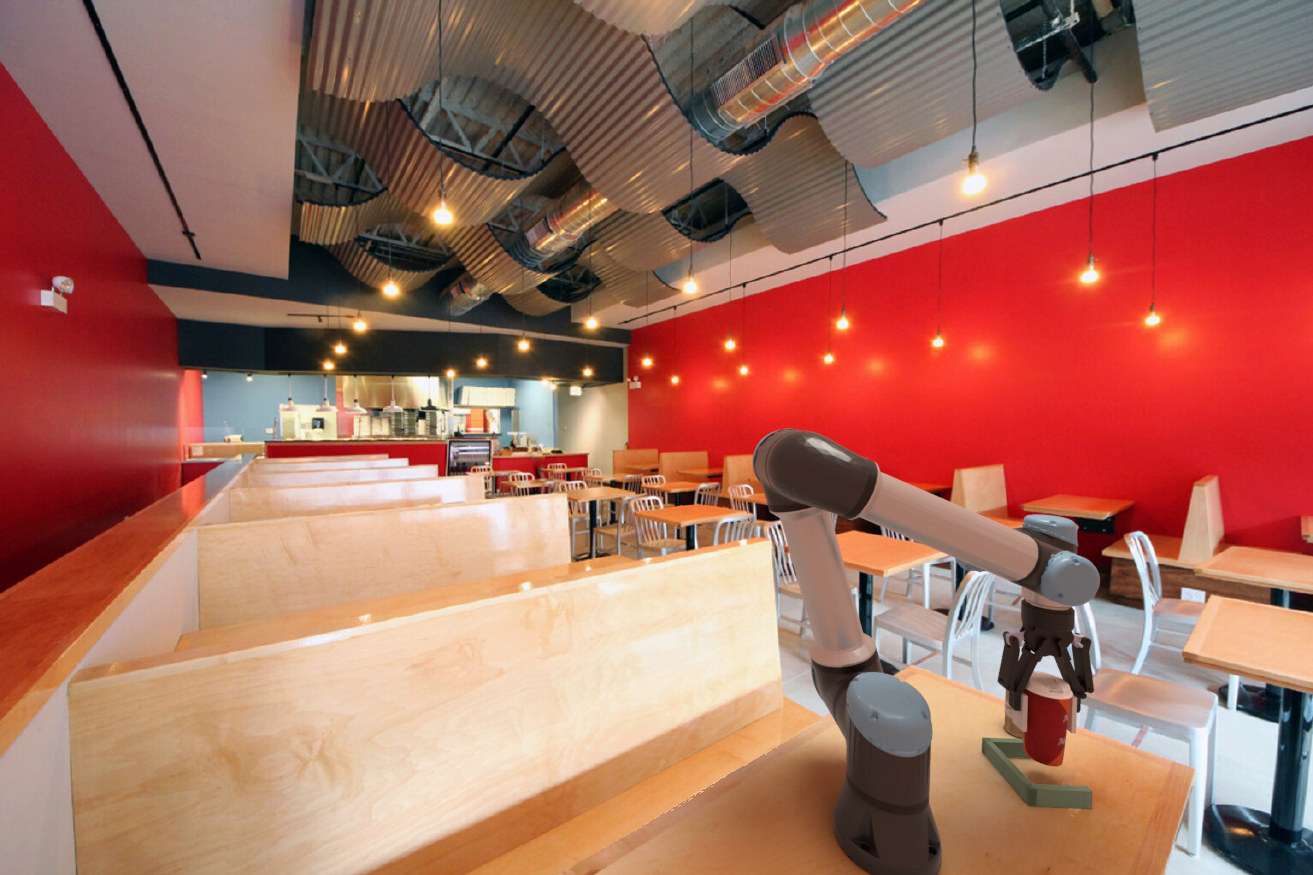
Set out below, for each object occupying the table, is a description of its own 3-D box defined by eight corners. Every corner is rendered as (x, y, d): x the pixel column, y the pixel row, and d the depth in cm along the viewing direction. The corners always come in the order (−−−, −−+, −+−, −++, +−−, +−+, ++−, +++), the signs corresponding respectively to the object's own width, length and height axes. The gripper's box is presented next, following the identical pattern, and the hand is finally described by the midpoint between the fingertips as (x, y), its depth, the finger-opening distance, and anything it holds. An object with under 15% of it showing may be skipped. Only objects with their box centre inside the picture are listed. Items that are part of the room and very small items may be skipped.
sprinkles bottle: (1004, 734, 102) (1007, 670, 102) (1002, 722, 106) (1004, 661, 106) (1032, 741, 100) (1034, 676, 99) (1029, 729, 104) (1031, 666, 103)
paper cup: (1081, 773, 85) (1083, 693, 84) (1030, 767, 86) (1032, 688, 86) (1054, 744, 93) (1056, 670, 92) (1008, 738, 94) (1010, 666, 94)
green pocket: (1029, 805, 83) (1030, 788, 83) (981, 752, 97) (982, 737, 97) (1091, 808, 83) (1092, 791, 83) (1035, 754, 96) (1035, 739, 96)
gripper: (1001, 609, 85) (997, 739, 86) (1126, 612, 84) (1121, 743, 85) (975, 594, 93) (972, 713, 94) (1090, 596, 92) (1086, 716, 93)
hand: (1043, 727), depth 89 cm, fingers closed on paper cup, 8 cm apart
